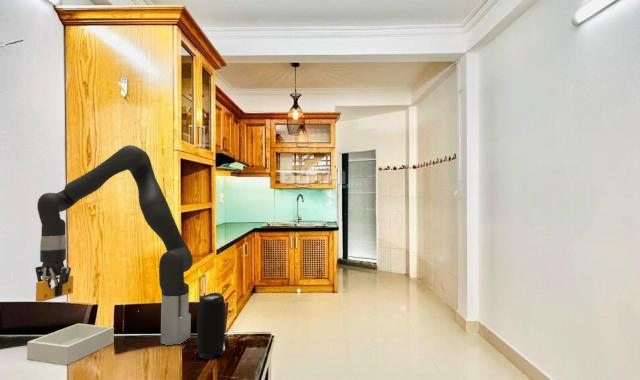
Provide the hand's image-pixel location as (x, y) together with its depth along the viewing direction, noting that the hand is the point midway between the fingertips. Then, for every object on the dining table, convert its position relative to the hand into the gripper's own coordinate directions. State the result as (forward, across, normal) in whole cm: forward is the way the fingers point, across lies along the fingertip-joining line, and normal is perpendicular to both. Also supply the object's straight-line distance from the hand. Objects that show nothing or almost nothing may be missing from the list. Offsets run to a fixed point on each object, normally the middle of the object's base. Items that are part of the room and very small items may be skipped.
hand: (52, 295), depth 128 cm
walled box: (+17, -14, +4) cm, 22 cm away
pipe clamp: (+1, 0, 0) cm, 1 cm away
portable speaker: (+18, -61, -5) cm, 63 cm away
